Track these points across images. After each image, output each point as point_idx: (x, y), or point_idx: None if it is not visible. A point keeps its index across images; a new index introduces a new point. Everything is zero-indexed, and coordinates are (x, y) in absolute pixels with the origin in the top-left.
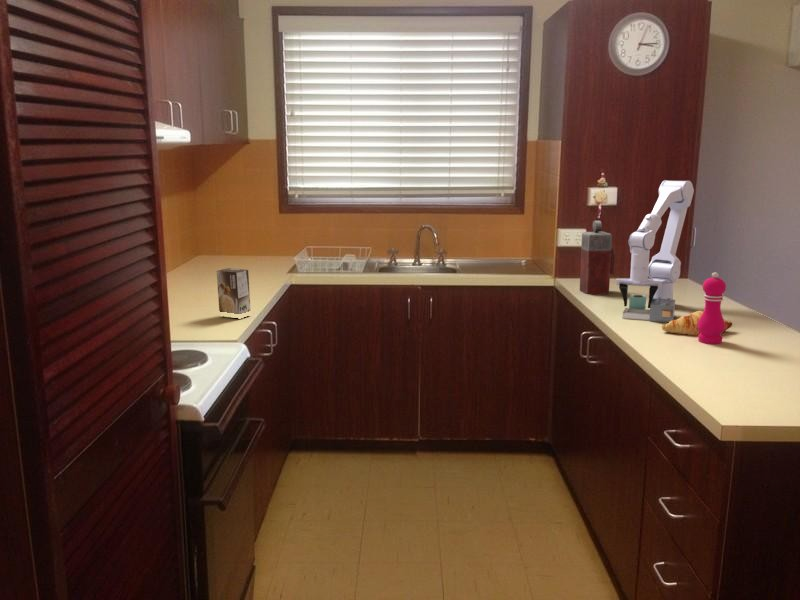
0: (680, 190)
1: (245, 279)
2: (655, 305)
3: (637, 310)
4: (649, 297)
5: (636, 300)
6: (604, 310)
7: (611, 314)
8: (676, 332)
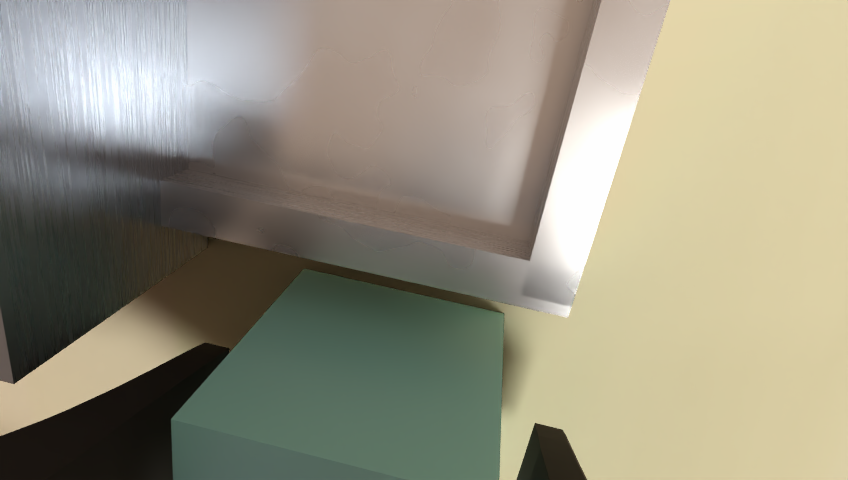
0: None
1: None
2: None
3: (382, 221)
4: (87, 443)
5: (363, 415)
6: (839, 423)
7: (816, 160)
8: None
